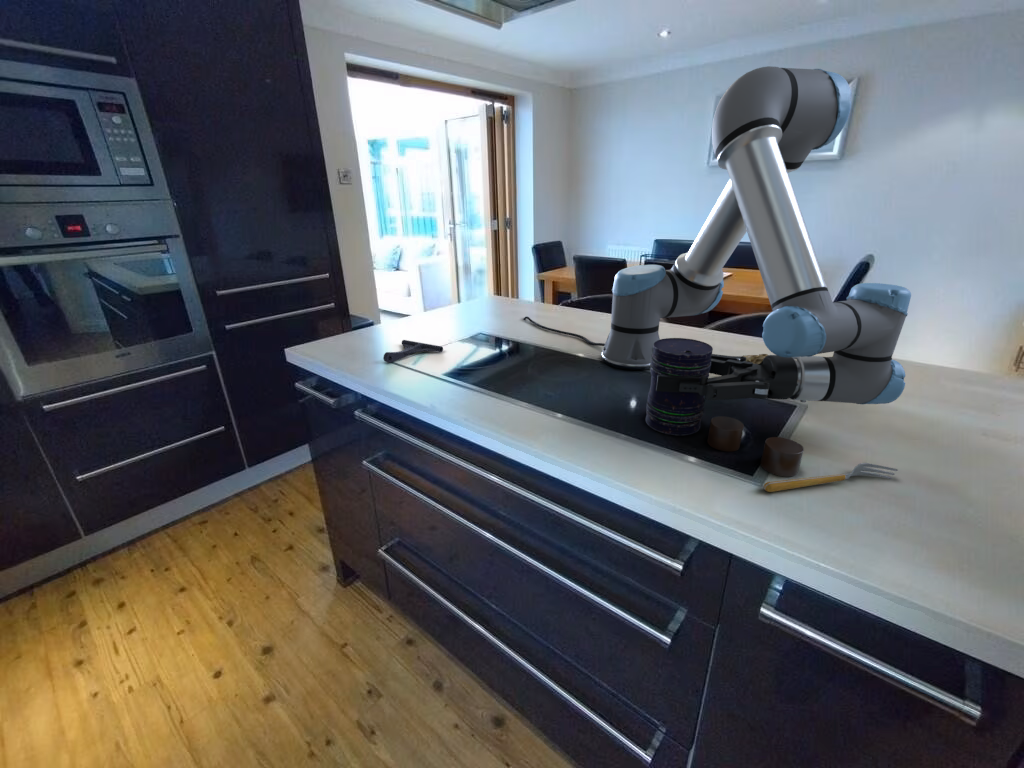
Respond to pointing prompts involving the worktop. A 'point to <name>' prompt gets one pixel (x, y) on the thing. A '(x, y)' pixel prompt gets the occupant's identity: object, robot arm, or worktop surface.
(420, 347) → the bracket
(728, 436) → the walnut disc
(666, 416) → the storage jar
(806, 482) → the fork
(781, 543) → the worktop surface
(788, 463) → the walnut disc
